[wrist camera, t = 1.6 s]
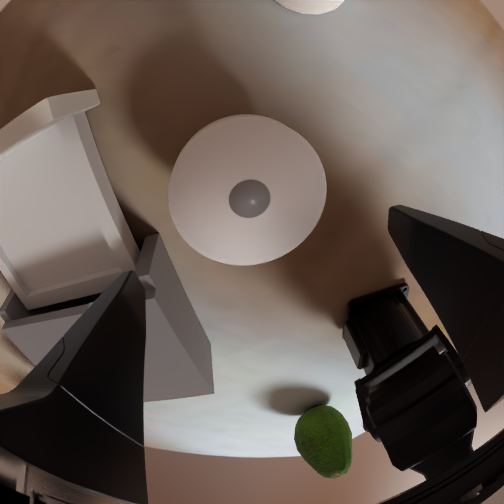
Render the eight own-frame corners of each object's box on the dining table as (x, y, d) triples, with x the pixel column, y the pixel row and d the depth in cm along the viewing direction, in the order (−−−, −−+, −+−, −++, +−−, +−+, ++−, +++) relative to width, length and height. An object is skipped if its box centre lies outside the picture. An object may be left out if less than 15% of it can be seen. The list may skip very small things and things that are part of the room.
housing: (159, 232, 18) (146, 284, 14) (210, 344, 25) (214, 393, 21) (19, 276, 18) (-6, 320, 14) (87, 362, 25) (78, 404, 21)
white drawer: (94, 82, 12) (44, 88, 7) (159, 258, 19) (148, 319, 14) (-34, 167, 12) (-80, 201, 7) (31, 293, 19) (7, 342, 14)
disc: (304, 102, 12) (317, 105, 10) (320, 230, 16) (330, 246, 14) (153, 137, 12) (145, 145, 10) (196, 260, 16) (195, 279, 14)
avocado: (349, 395, 37) (374, 464, 27) (318, 418, 40) (336, 481, 30) (308, 394, 34) (331, 474, 24) (277, 418, 37) (293, 489, 27)
